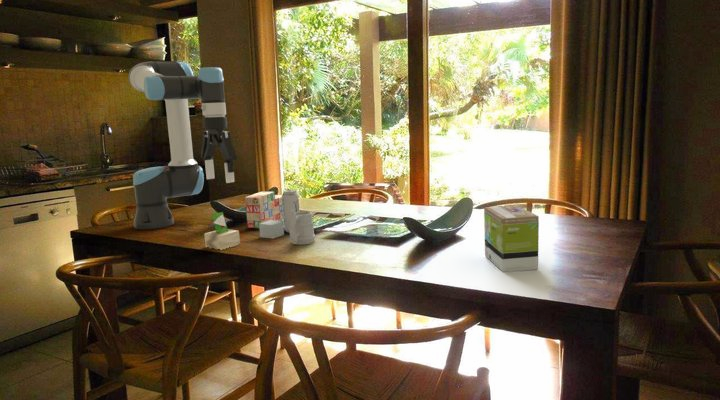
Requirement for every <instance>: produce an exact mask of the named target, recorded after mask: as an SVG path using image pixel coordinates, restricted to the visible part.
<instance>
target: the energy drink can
mask: <svg viewBox="0 0 720 400" xmlns="http://www.w3.org/2000/svg"><path fill="white" fill-rule="evenodd" d="M281 195H282V204H283V226H284V231H285V232H286V233H289V229H290V219H291V210H293V211H295V212H301V211H300V198H299V197H300V196H299V193H298V190H297V189H285V190H283V193H282V194H281ZM295 212H294V213H295Z"/></svg>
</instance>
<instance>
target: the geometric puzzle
mask: <svg viewBox="0 0 720 400" xmlns="http://www.w3.org/2000/svg"><path fill="white" fill-rule="evenodd" d="M224 214H226V213H224V211H221V212H217V213H216V212H215V213H211V218H212V220H211V221H212V222H210V223H209V224H208V225H207V227H211V226H214V231H216V232H217V233H222V232H226V231H228V229H229V228H228V222H232V218H231V217H229V219H226V217H228V215H224ZM225 216H226V217H225Z"/></svg>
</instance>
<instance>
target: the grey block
mask: <svg viewBox="0 0 720 400" xmlns="http://www.w3.org/2000/svg"><path fill="white" fill-rule="evenodd" d="M258 229H259V237H260V238H263V239H264V238H265V239H276V238H279V237H282V236H284V235H285V229H284V220H283V221H281V220H278V221H273V220H269V221H266V222H263V223H260V224H259V228H258Z"/></svg>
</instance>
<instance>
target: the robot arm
mask: <svg viewBox="0 0 720 400" xmlns="http://www.w3.org/2000/svg"><path fill="white" fill-rule="evenodd" d="M127 78H128V82H129V84H130V85H131V87H132V88H134V89H135V90H137V91H139V92H142V93H144V96H145V97H146V99H147V100H150V101H165V110H166V111H165V112H166V120H167V122H166V123H167V131H168V138H169V149H170V161H169V163H168V165H167V169H165V168H164V167H163V166H152V167H147V168H143V169H139V170H137V171H136V172H134V173H133V175H132V179H133V183H132V185H133V188H134V195H135V204H136V212H135V215H134V220H133V227H134V229H135V230H156V229H161V228H167V227H169V226H172V225H174V224H175V218H174V215H173V214H172V212H171V210H170V207H169V205H168V199H172V198H179V197H184V196H185V197H186V196H189V197H190V196H193V195H198V194H200V193H201V192H202V190H203V187H204V183H205V182H204V181H205V180H204V179H205V178H206V180H213V179H215V165H214V157H213V156H214V153H215V150H216V147H217V148H219V150H220V153H221V155H222V157H223V159H224V161H223V164H224V173H225V183H226V184H230V183H235V181H236V180H235V172H234V171H235V169H234V163H235V161H237V160H238V158H237V154H236V152H235V149H234V145H233V142H232V138H231V133H230V131H226V130H224V129H227V128H228V118H227V117H226V115H227V107H226V98H225V97H226V95H225V82H224V81H225V78H224V75H223V69H222V68H221V67H214V66H213V67H211V66H210V67H200V68H199V69H198V75H194V72H193V70H192V68H191V66H190V65H189V64H188V62H185V61H176V60H175V61H145V62H139V63H138V64H136V65H134V66H133V67H131V69H130V70H129V73H128V77H127ZM195 99H196V100H197V99H198V100H200V102H201V107H200V109H201V110H202V116H204V117H203V118H202V123H203V124H202V126H203V128H204V129H205V130H203V132H202V137H203V138H202V145H201V150H200V151H201V152H200V157H201V158H202V159H203V160H204V164H205V167H204V168H205V174H206V175H204V170H203V168H202V167H201V166H200V165H198V162H197V160H196V159H194V152H193V141H192V130H191V121H190V109H189V100H195ZM204 176H206V177H204Z"/></svg>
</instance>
